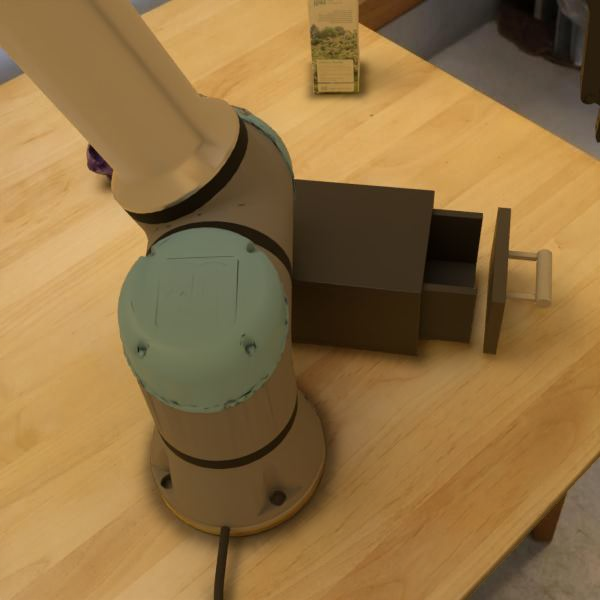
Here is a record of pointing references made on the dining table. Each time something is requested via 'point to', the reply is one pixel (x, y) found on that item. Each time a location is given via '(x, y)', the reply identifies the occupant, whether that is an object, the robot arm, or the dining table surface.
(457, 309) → the drawer
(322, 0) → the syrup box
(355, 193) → the cabinet
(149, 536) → the dining table surface
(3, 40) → the robot arm
